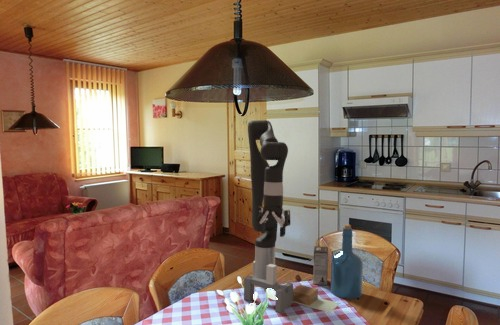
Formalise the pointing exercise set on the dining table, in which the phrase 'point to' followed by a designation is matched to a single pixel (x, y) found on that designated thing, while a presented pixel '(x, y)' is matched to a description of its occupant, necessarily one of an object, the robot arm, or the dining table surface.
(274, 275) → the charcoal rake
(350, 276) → the wine bottle
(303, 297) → the walnut block
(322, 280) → the coffee box
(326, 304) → the sage mat
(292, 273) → the dining table surface
